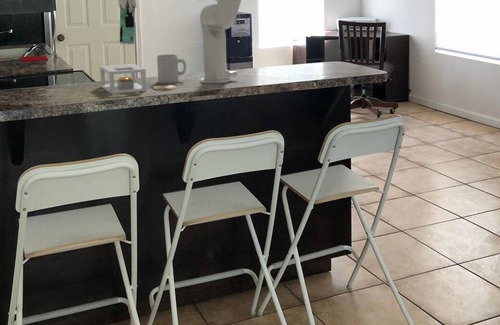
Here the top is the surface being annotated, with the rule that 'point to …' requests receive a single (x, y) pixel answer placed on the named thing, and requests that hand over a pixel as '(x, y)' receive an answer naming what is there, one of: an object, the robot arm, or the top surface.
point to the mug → (169, 68)
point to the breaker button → (125, 79)
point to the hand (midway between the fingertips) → (128, 26)
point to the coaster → (164, 87)
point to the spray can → (126, 28)
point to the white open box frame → (123, 85)
